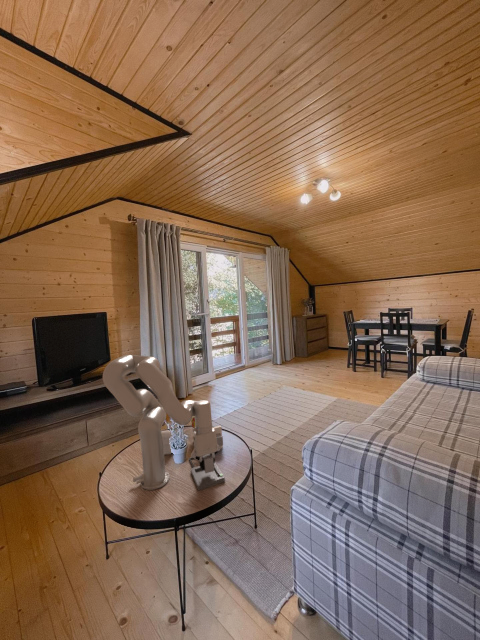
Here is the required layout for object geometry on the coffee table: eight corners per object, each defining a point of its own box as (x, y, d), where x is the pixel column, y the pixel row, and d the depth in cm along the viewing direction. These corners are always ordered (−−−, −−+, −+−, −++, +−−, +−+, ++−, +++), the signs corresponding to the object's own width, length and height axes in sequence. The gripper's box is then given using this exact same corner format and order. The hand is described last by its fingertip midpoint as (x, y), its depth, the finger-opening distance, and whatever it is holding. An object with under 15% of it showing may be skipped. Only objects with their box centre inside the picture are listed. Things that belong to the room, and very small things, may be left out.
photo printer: (176, 449, 149) (174, 428, 149) (175, 453, 145) (173, 431, 144) (156, 452, 148) (155, 430, 147) (155, 456, 144) (153, 434, 143)
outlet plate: (200, 458, 139) (198, 436, 138) (197, 453, 144) (195, 431, 143) (225, 451, 145) (223, 429, 144) (221, 446, 150) (220, 425, 149)
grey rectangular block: (205, 473, 119) (204, 460, 119) (201, 465, 126) (200, 453, 126) (214, 470, 121) (213, 457, 121) (209, 462, 128) (208, 450, 127)
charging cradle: (198, 490, 115) (198, 485, 115) (190, 472, 128) (190, 468, 128) (224, 481, 120) (224, 476, 120) (214, 465, 133) (214, 460, 132)
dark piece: (194, 471, 128) (193, 464, 128) (188, 459, 139) (188, 452, 139) (225, 461, 135) (225, 454, 135) (218, 450, 145) (218, 444, 145)
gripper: (187, 436, 116) (191, 477, 117) (224, 426, 122) (227, 465, 123) (184, 429, 122) (187, 468, 124) (218, 420, 129) (221, 457, 130)
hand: (207, 466), depth 124 cm, fingers closed on grey rectangular block, 4 cm apart
